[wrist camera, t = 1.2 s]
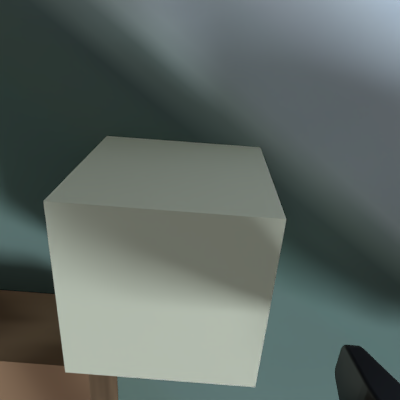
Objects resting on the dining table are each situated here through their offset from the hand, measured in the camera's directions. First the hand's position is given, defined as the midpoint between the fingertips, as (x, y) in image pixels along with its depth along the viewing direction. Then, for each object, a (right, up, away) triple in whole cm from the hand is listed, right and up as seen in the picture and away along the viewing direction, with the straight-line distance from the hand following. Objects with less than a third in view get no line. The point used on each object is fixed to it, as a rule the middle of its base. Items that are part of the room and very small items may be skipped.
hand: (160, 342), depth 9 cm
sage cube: (0, +3, +7) cm, 7 cm away
